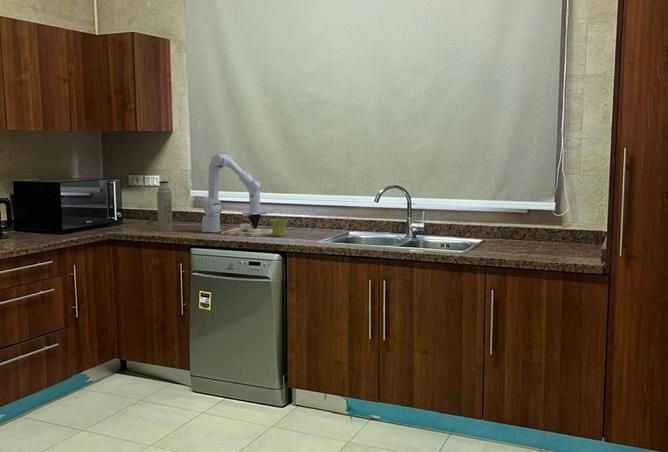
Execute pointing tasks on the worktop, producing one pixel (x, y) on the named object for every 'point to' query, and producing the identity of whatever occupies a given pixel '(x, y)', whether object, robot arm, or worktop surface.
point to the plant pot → (278, 226)
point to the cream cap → (245, 227)
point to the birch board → (246, 232)
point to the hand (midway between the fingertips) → (255, 228)
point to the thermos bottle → (164, 207)
